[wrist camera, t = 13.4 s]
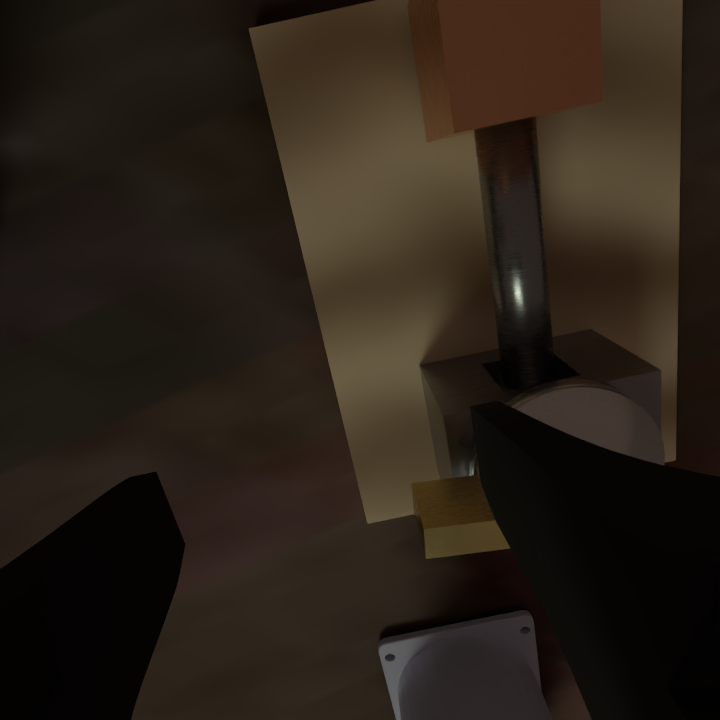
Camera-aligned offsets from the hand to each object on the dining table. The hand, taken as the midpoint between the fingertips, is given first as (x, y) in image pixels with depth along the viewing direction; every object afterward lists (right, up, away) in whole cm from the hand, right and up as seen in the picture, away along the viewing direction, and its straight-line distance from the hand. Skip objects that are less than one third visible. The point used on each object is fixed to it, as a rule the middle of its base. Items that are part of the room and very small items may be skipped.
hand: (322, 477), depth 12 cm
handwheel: (+6, -1, +5) cm, 8 cm away
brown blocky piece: (+6, +8, +6) cm, 12 cm away
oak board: (+6, +6, +9) cm, 12 cm away
